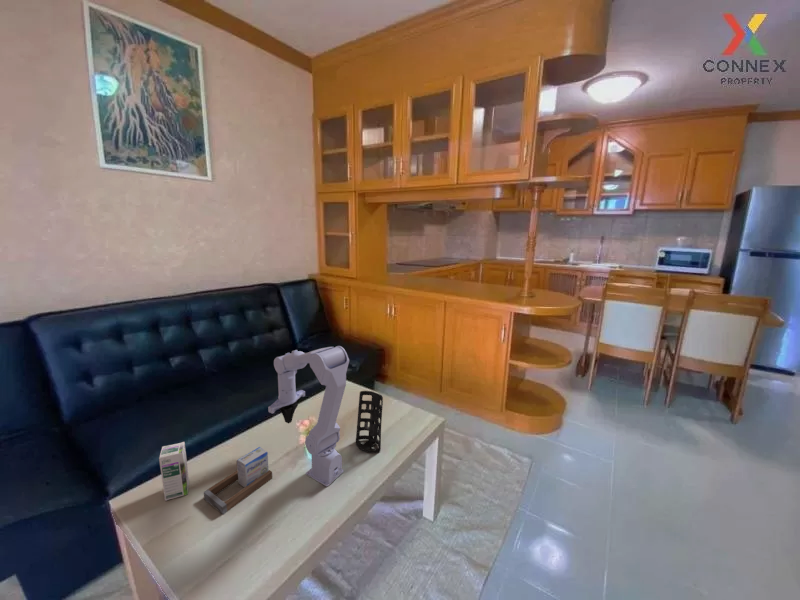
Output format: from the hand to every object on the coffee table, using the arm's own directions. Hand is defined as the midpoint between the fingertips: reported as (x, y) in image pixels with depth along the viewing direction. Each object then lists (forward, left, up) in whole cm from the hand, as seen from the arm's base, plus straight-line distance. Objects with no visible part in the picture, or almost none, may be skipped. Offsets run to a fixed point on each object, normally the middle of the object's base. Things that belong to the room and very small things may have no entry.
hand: (288, 421), depth 119 cm
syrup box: (+10, +33, -10) cm, 36 cm away
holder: (-24, -17, -10) cm, 31 cm away
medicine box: (-4, +17, -10) cm, 20 cm away
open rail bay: (-4, +22, -9) cm, 24 cm away
